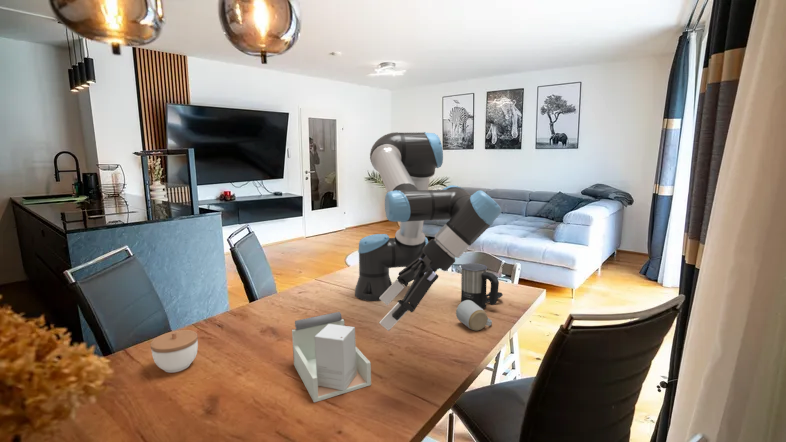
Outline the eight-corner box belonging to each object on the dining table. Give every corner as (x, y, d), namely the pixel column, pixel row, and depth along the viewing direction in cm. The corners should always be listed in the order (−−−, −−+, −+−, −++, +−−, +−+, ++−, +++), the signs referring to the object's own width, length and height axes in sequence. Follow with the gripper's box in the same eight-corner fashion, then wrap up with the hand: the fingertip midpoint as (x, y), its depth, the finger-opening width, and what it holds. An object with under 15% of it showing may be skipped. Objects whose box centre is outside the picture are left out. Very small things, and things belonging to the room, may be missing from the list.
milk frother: (457, 308, 139) (458, 268, 137) (466, 294, 153) (467, 257, 151) (498, 314, 134) (499, 272, 131) (503, 298, 148) (505, 261, 146)
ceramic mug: (469, 334, 119) (470, 310, 118) (455, 323, 127) (455, 300, 126) (497, 328, 123) (499, 305, 122) (482, 318, 131) (483, 296, 130)
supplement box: (357, 374, 96) (356, 326, 94) (344, 391, 89) (343, 340, 87) (330, 369, 99) (328, 322, 96) (315, 386, 92) (313, 335, 89)
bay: (293, 363, 103) (290, 320, 101) (343, 350, 110) (341, 309, 108) (314, 402, 87) (311, 351, 85) (371, 384, 93) (370, 337, 91)
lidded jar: (168, 382, 95) (163, 346, 93) (145, 370, 101) (141, 336, 99) (208, 362, 104) (205, 329, 102) (185, 352, 110) (182, 320, 108)
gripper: (468, 277, 78) (397, 350, 81) (447, 244, 103) (393, 301, 106) (441, 253, 77) (370, 328, 80) (426, 226, 102) (372, 284, 104)
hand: (383, 313), depth 93 cm, fingers open, 13 cm apart
